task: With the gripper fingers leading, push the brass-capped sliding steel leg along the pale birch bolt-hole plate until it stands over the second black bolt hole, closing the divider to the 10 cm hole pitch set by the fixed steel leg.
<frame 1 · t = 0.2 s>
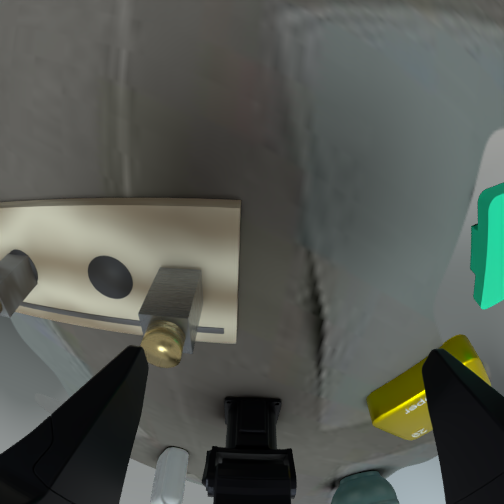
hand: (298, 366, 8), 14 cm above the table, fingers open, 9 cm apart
bolt plate: (86, 265, 23), on the table
flower pot: (358, 476, 51), on the table
sliding leg: (171, 316, 18), point 5 cm above the table, slide at 6.0 cm
element tile: (429, 382, 32), on the table
camera mount: (497, 235, 21), on the table
photo printer: (173, 453, 43), on the table
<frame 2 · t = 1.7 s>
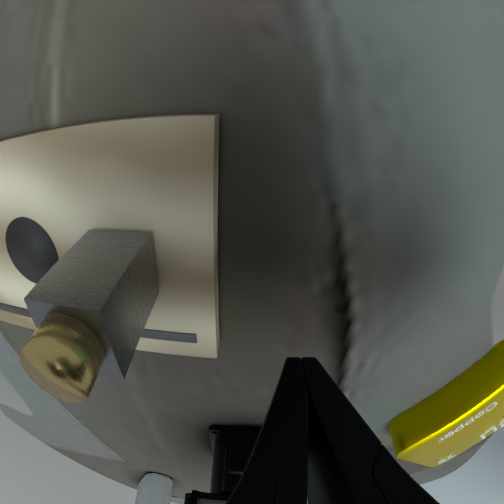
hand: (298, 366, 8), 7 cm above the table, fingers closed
bolt plate: (12, 237, 14), on the table
sliding leg: (92, 309, 9), point 5 cm above the table, slide at 6.0 cm
element tile: (462, 399, 23), on the table
photo printer: (155, 478, 33), on the table
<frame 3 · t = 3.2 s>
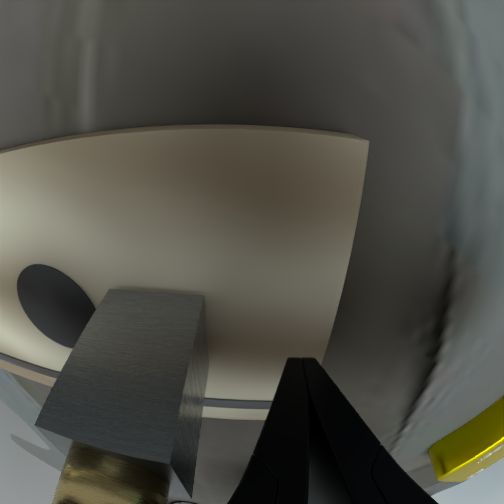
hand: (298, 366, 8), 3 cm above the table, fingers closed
bolt plate: (25, 281, 11), on the table
sliding leg: (133, 415, 6), point 5 cm above the table, slide at 4.5 cm, touching gripper
element tile: (494, 417, 20), on the table
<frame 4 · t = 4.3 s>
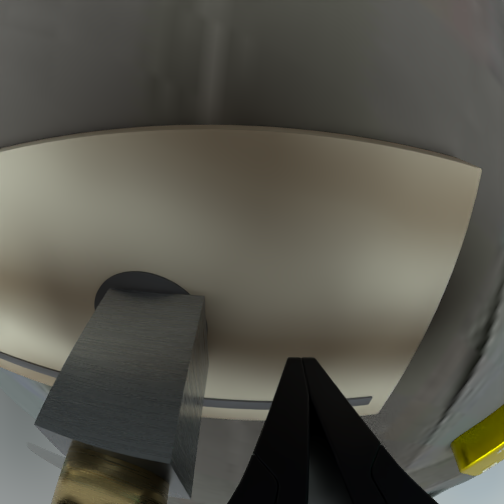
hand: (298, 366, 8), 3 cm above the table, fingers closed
bolt plate: (91, 288, 11), on the table
sliding leg: (133, 415, 6), point 5 cm above the table, slide at 0.5 cm, touching gripper
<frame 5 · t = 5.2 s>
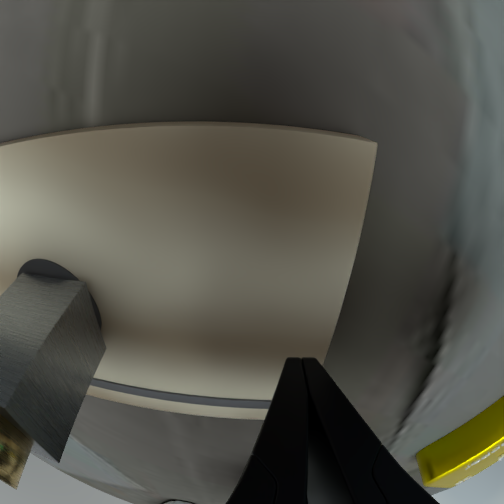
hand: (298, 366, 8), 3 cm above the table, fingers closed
bolt plate: (24, 275, 10), on the table
sliding leg: (19, 379, 6), point 5 cm above the table, slide at 0.5 cm
element tile: (483, 424, 20), on the table
photo printer: (177, 503, 30), on the table
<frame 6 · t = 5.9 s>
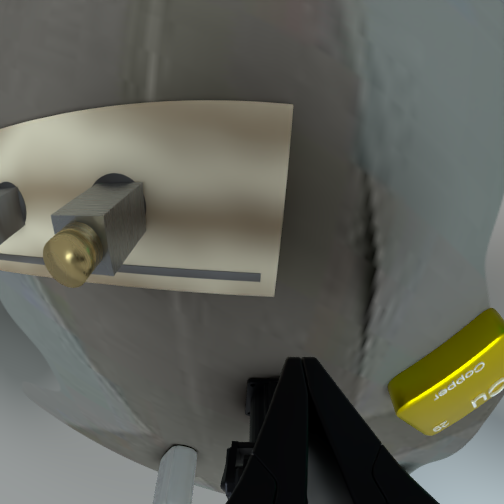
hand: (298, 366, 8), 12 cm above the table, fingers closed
bolt plate: (87, 197, 18), on the table
sliding leg: (96, 230, 14), point 5 cm above the table, slide at 0.5 cm
element tile: (453, 367, 28), on the table
photo printer: (178, 453, 37), on the table
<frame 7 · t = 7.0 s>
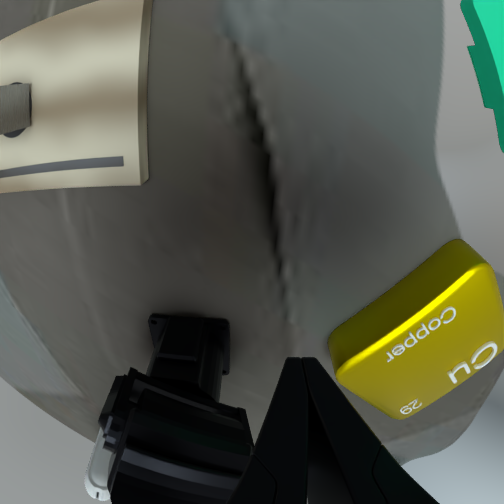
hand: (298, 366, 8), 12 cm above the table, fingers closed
bolt plate: (2, 115, 15), on the table
element tile: (421, 328, 24), on the table
photo printer: (117, 425, 34), on the table
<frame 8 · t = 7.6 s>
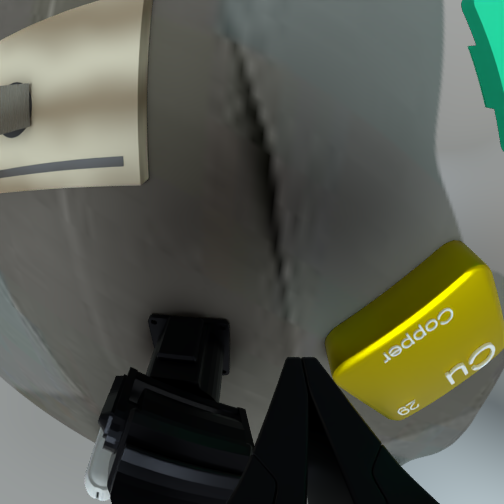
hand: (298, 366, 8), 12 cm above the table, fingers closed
bolt plate: (2, 115, 15), on the table
element tile: (419, 329, 24), on the table
photo printer: (117, 425, 34), on the table
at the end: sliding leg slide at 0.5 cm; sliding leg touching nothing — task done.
